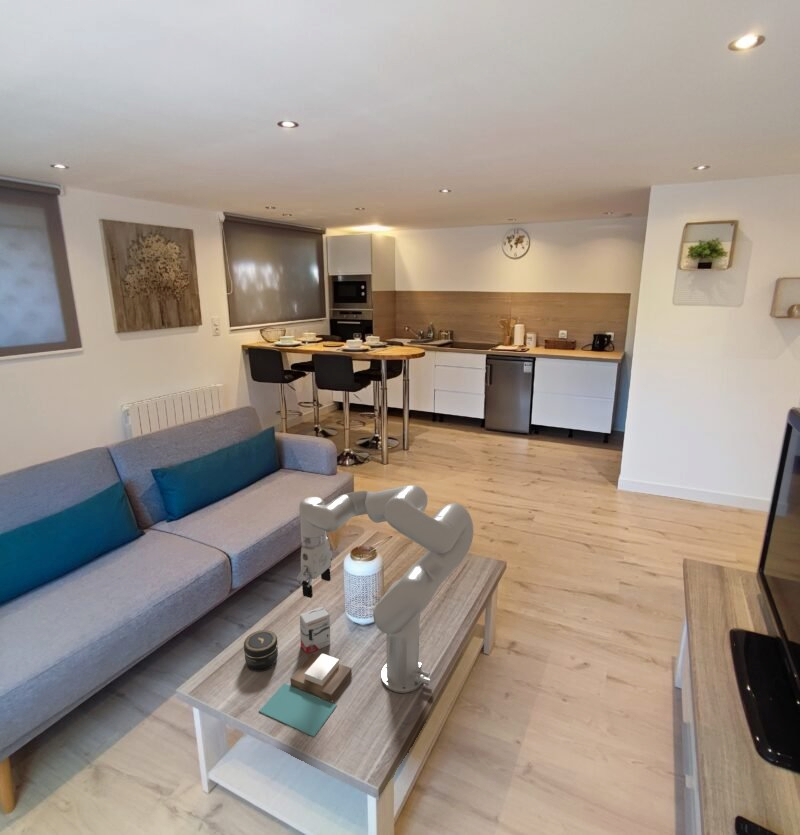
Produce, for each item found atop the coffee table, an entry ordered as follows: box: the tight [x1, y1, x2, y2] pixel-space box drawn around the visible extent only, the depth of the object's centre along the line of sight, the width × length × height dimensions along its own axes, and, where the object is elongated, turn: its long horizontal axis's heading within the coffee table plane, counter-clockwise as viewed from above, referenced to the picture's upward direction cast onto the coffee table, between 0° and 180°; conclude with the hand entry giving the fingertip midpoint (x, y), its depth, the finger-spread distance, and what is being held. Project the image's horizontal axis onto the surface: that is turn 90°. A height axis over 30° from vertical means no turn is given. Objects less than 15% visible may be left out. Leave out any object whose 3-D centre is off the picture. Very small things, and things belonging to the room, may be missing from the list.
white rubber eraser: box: [305, 653, 340, 686], centre depth 145 cm, size 6×9×2 cm, turn 155°
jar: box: [243, 629, 279, 672], centre depth 151 cm, size 10×10×8 cm
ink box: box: [299, 606, 331, 655], centre depth 158 cm, size 8×5×12 cm, turn 123°
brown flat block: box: [289, 653, 353, 703], centre depth 145 cm, size 14×11×2 cm
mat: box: [258, 683, 337, 738], centre depth 135 cm, size 18×11×1 cm, turn 65°
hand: (317, 587), depth 152 cm, fingers open, 9 cm apart
